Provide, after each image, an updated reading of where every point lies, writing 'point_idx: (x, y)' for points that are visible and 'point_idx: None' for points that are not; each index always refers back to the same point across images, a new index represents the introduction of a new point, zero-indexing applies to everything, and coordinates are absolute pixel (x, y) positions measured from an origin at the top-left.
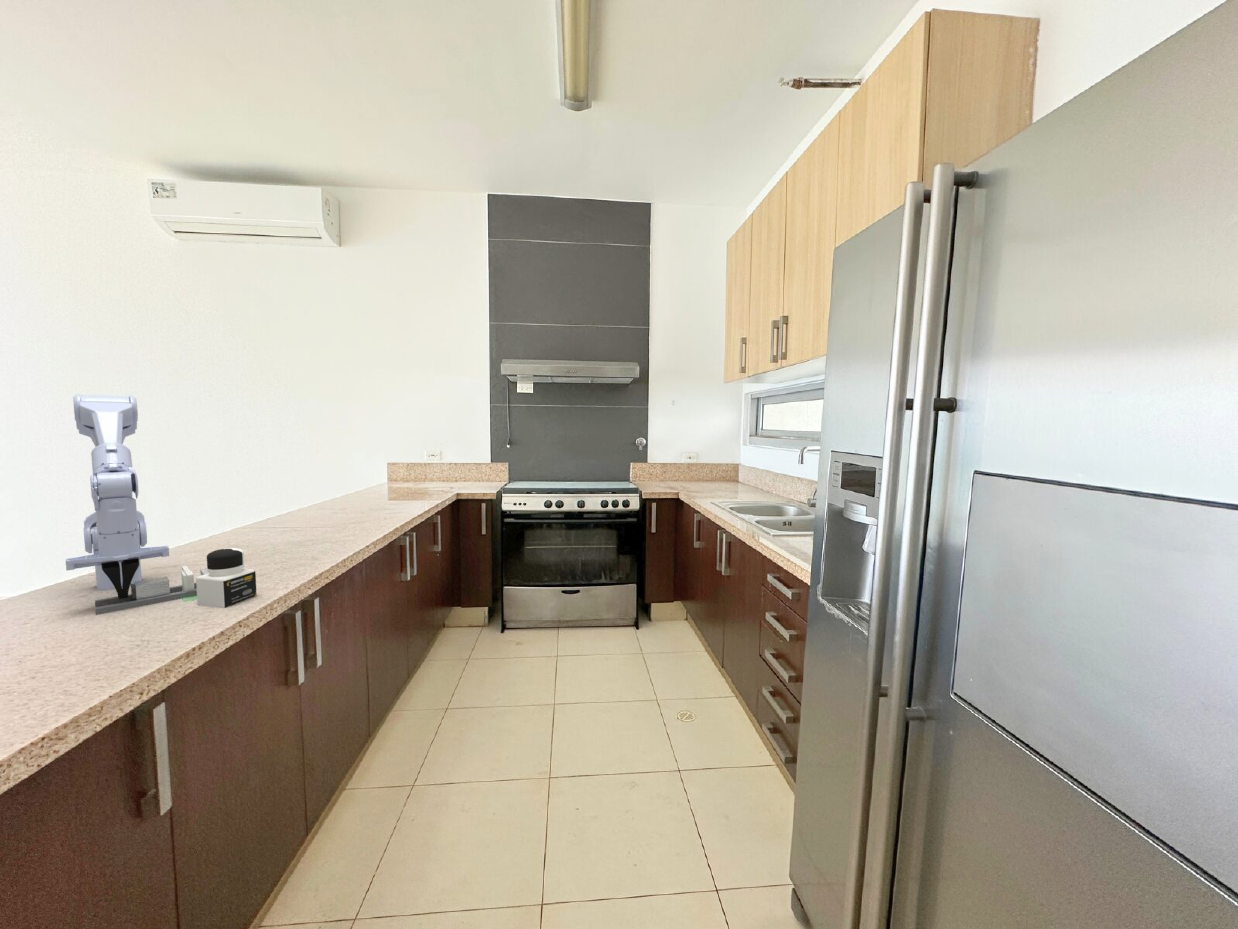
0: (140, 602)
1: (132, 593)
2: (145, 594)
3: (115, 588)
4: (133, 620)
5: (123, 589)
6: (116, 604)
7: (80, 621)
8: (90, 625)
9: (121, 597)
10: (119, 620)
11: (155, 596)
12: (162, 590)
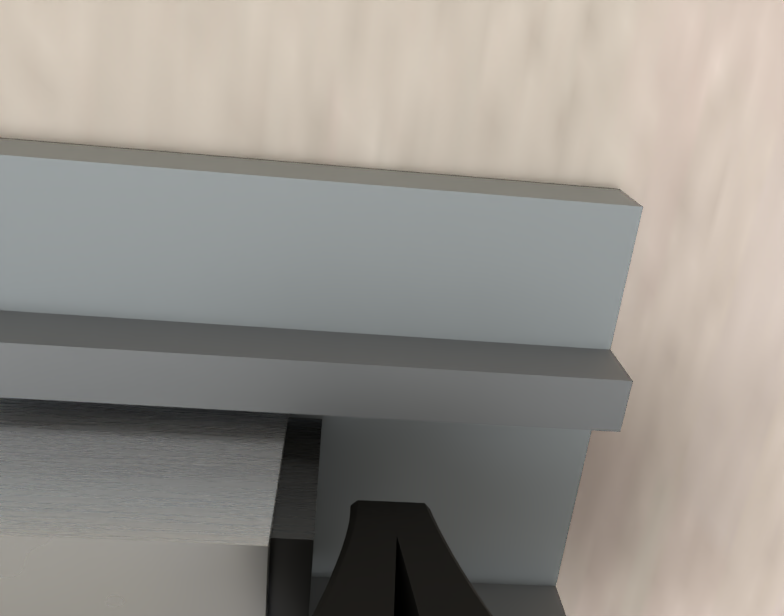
0: (262, 347)
1: (312, 493)
2: (196, 453)
3: (473, 589)
4: (360, 81)
5: (393, 559)
6: (459, 405)
7: (666, 420)
8: (649, 239)
9: (406, 511)
10: None
11: (116, 419)
12: (22, 448)
